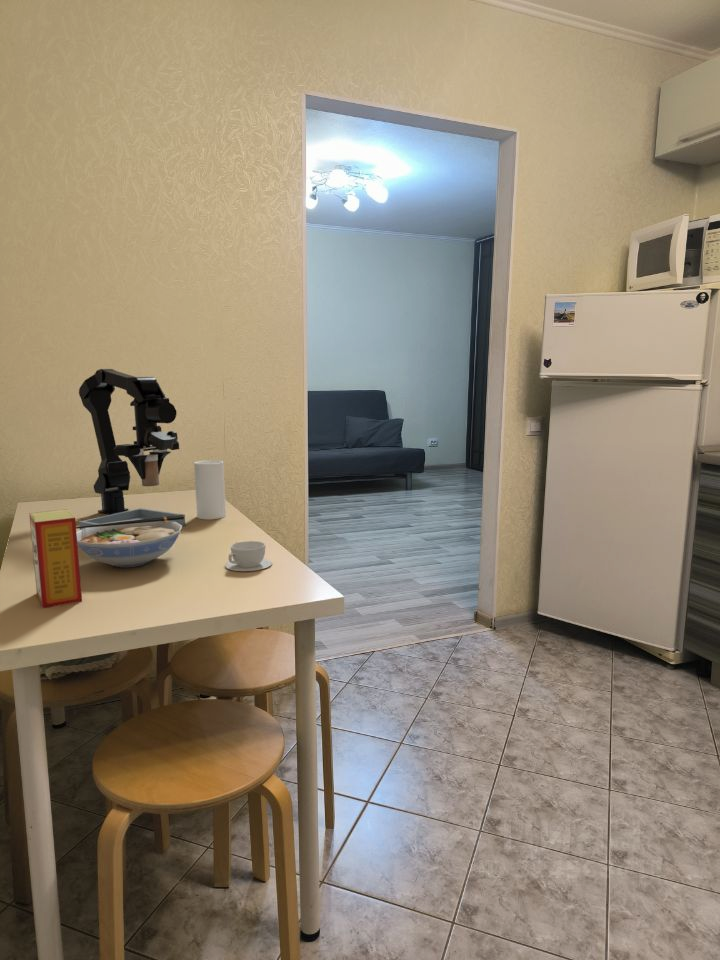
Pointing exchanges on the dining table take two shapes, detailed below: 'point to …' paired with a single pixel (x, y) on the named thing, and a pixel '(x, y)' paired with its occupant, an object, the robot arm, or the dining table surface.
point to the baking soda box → (55, 557)
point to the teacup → (247, 556)
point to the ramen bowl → (129, 540)
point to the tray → (131, 517)
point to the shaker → (151, 471)
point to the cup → (210, 489)
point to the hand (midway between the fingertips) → (150, 477)
